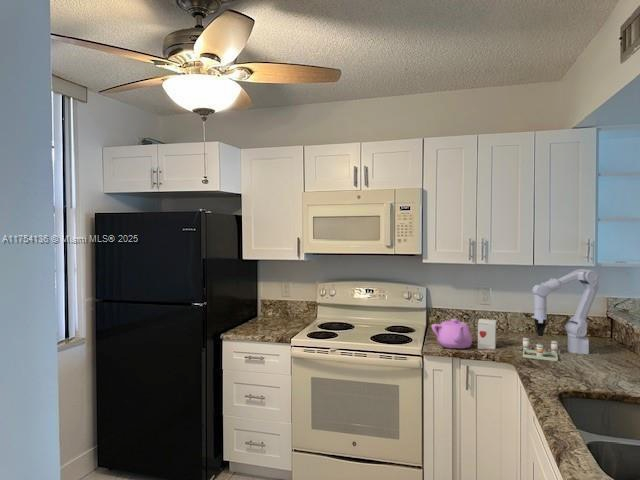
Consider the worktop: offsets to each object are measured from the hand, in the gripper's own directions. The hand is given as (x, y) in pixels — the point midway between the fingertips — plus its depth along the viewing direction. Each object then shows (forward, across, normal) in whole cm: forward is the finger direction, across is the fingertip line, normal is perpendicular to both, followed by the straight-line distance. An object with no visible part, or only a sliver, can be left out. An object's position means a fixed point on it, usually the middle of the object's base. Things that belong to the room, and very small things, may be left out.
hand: (540, 334), depth 222 cm
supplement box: (+10, +1, -26) cm, 28 cm away
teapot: (+10, +6, -42) cm, 43 cm away
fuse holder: (+10, -1, 0) cm, 10 cm away
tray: (+10, +9, 0) cm, 14 cm away
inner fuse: (+9, 0, +6) cm, 11 cm away
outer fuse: (+9, -1, -7) cm, 11 cm away
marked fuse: (+9, +9, 0) cm, 13 cm away
